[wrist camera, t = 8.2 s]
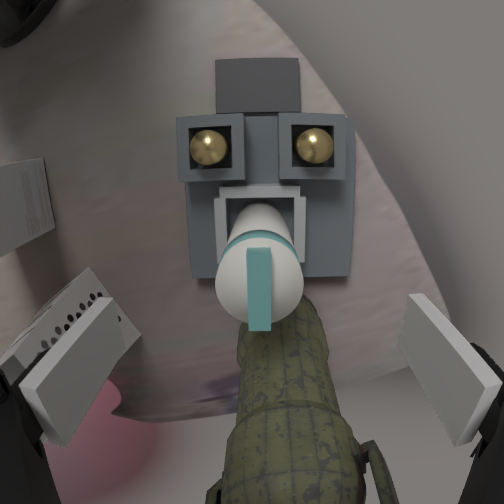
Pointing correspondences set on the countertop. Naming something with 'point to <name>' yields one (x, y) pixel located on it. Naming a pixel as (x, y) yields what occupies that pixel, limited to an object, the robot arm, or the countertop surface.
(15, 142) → the countertop surface
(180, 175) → the housing
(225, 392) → the countertop surface
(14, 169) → the supplement box
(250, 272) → the cartridge
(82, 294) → the grater
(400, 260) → the countertop surface
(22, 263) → the countertop surface
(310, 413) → the thermos
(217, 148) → the plunger
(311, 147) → the plunger
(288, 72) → the mat
